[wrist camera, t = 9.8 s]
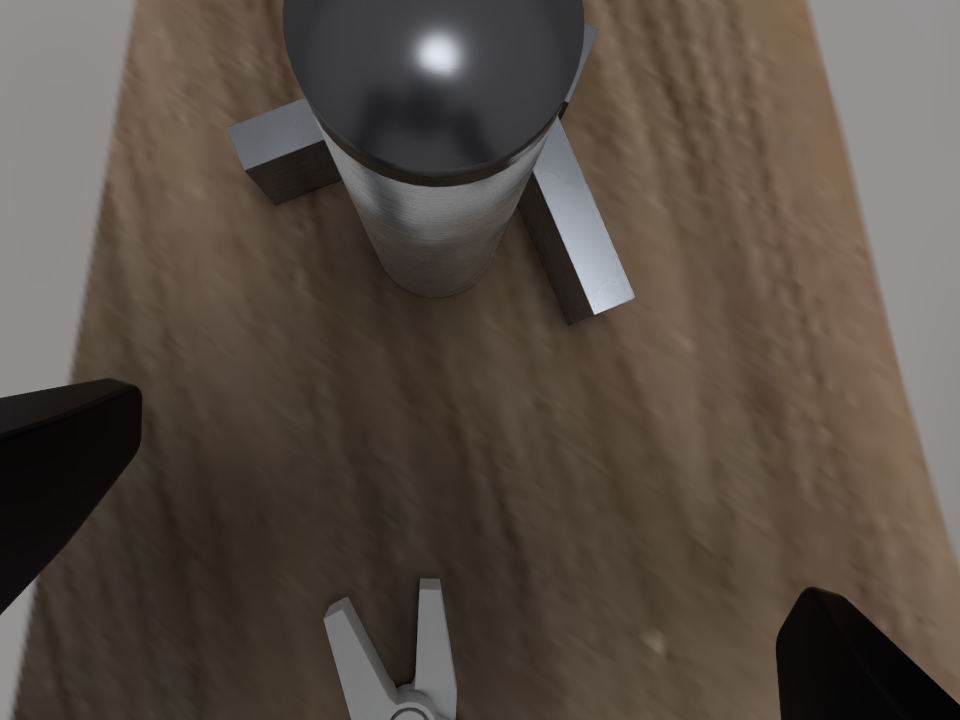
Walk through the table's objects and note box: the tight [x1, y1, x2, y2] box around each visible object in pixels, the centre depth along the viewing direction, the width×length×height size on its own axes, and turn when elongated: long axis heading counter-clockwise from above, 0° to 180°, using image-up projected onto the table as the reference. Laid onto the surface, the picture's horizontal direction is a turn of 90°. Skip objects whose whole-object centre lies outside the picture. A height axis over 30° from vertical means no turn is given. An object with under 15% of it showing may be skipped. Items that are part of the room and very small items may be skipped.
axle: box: [283, 0, 585, 298], centre depth 15 cm, size 4×4×13 cm
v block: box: [227, 23, 635, 325], centre depth 20 cm, size 7×12×4 cm, turn 68°
